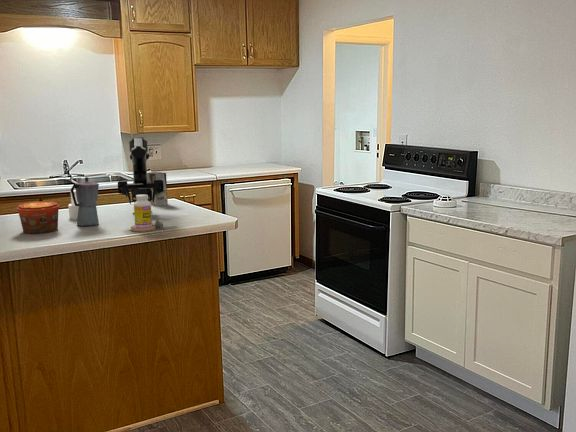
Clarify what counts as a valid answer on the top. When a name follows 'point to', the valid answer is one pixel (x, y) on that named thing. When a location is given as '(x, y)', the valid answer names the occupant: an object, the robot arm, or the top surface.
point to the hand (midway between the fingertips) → (141, 202)
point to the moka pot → (86, 202)
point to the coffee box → (162, 196)
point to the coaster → (143, 228)
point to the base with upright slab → (73, 207)
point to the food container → (39, 217)
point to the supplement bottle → (142, 211)
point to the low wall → (159, 224)
